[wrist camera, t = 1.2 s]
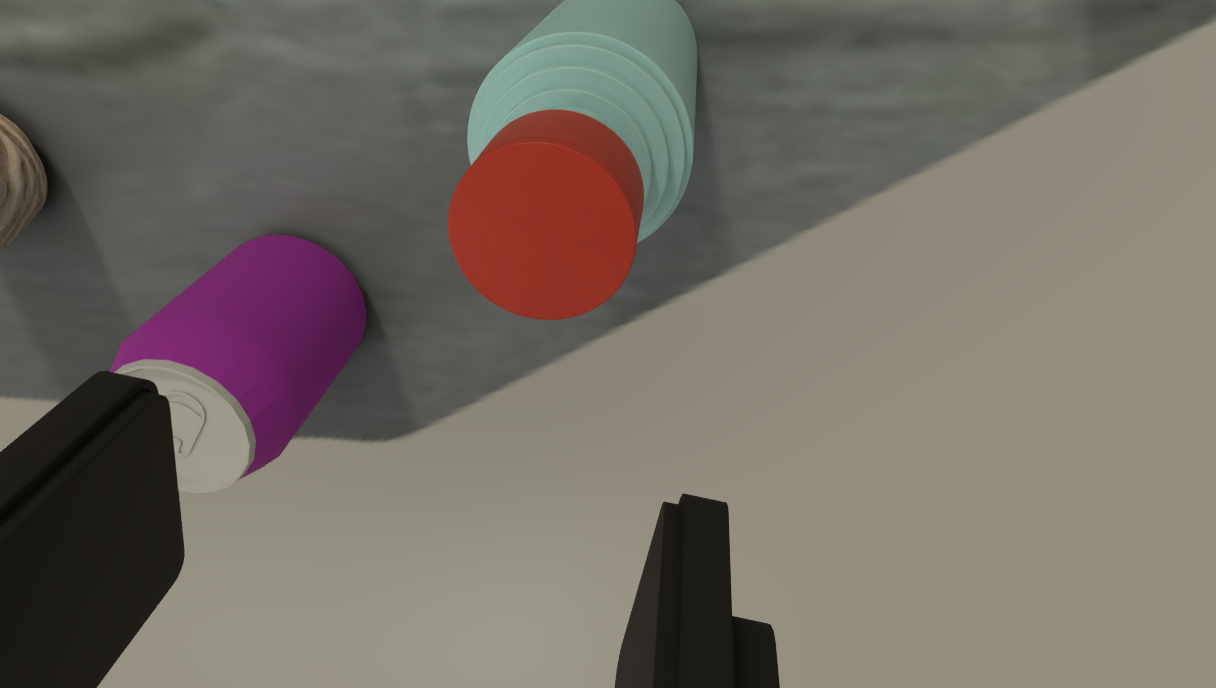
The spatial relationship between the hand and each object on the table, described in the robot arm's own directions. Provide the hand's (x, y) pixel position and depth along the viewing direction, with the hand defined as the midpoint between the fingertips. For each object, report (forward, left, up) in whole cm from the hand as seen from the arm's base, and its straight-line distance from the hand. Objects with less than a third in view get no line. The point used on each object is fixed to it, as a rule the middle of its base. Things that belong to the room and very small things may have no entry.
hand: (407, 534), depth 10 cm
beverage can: (+15, -14, -30) cm, 36 cm away
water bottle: (0, 0, -30) cm, 30 cm away
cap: (0, 0, -12) cm, 12 cm away
